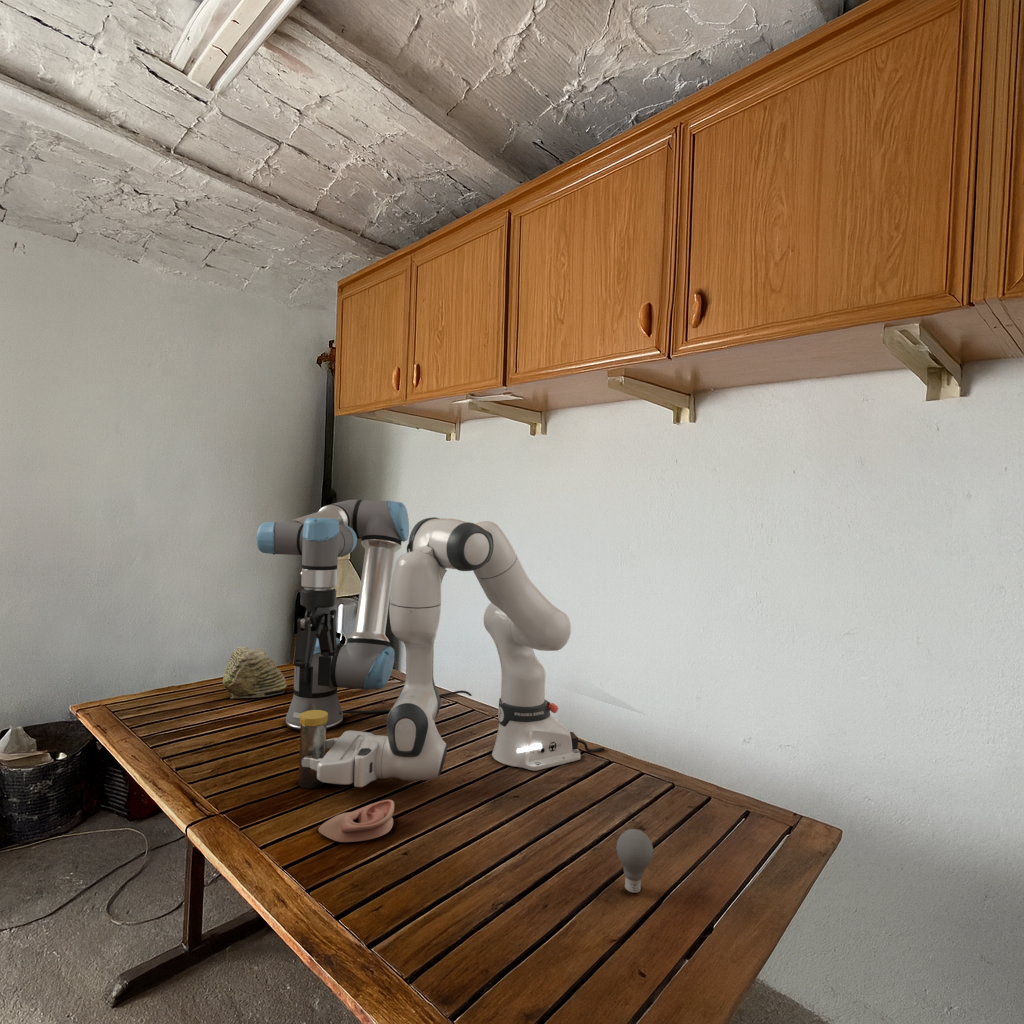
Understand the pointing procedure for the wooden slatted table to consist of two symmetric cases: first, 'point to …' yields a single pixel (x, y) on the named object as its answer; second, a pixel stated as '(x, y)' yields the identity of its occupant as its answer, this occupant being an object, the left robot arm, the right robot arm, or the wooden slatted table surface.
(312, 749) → the jar
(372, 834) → the anatomical model
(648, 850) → the light bulb
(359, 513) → the left robot arm
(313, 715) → the lid
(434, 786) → the wooden slatted table surface
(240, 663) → the fossil
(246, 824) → the wooden slatted table surface
